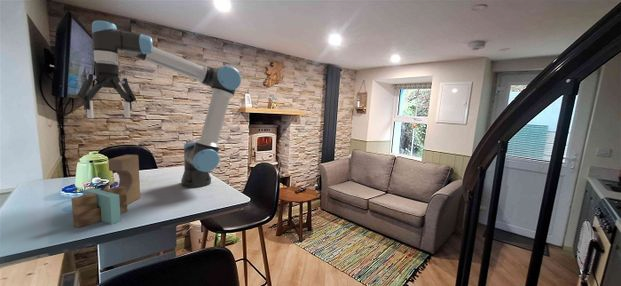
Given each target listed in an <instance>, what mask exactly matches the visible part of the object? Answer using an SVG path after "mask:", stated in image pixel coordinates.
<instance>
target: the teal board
mask: <svg viewBox="0 0 621 286" xmlns="http://www.w3.org/2000/svg"><path fill="white" fill-rule="evenodd" d="M91 193H92V194H95V195H96V197H97V206H100V207H101V222H105V223H106V224H110V225H113V224H116V223H119V222H121V214H120V201H119V195H118V194H114V193H110V192H106V191H105V190H102V189H98V188H95V187H90V188H86V189H82V196H83V195H87V194H91Z"/></svg>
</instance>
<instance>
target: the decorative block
mask: <svg viewBox="0 0 621 286" xmlns="http://www.w3.org/2000/svg"><path fill="white" fill-rule="evenodd" d="M107 162H108V163H107V164H108V171H110V172H115V173H117V176H118V179H119V181H118V182H119V183H118V186H117V187H119V186H123V187H126V196H127V206H128V205H129V204H131V203H133V202H135V201H137V200H139V199H141V185H140V164H139V163H140V161H139V154H124V155H120V156H116V157H113V158H109V159H108V160H107Z"/></svg>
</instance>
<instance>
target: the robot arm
mask: <svg viewBox="0 0 621 286" xmlns="http://www.w3.org/2000/svg"><path fill="white" fill-rule="evenodd" d="M91 35H92V36H91V37H92V49H93V59H94V62H95V63H94V65H93V66H94V72H95V75H94V74H92V73H86V74H85V79H84V81H83V84H82V85H81V87H80V89H79V90H78V93H77V95H76V99H79V100H81V101H83V109H84V110H86V118H87V119H95V114H94V102H93V100H92V98H94V96H95V95H96V94H97V93H99V91H100V90H101V89H103V88H108V89H114V90H115V91H116V92H117V93H118V94H119V95H120V97H121V98H122V99H123V100H124V101H123V111H124V112H123V114H124V115H123V116H124V118H128V119H129V118H131V110H132V105H133V104H132V103H134V102H135V101H137V98H136V97H135V95H134V92H133V91H132V89H131V87H130V84H129V83H128V78H127V77H121V78H120V76H119V75H120V68H119V51H122V52H123V53H124V54H125V55H126V56H127V57H130V58H133V59H134V58H135V59H139V60H142V61H145V62H146V63H147V62H148V63H150V64H153V65H155V66H158V67H161V68H164V69H166V70H170V71H172V72H175V73H178V74H180V75H183V76H185V77H188V78H191V79H195V80H197V81H198V82H199V83H200V84H202V85H205V86H207V87H210V90H211V92H212V94H211V97H210V102H209V105H208V108H207V113H206V117H205V119H204V124H203V126H202V131H201V134H200V137H199V139H197V140H196V141H195V142H186V143H184V145H183V154H184V155H183V159H184V161H183V163H184V169H183V170H184V172H183V174H182V178H181V180H180V182H181V183H180V185H181V186H182V187H185V188H201V187H206V186H208V185H210V184H212V177H211V175H210V172H211V171H213V170H215V169H216V168H217V167H218V165H219V164H220V154H219V152H220V145H219V139H220V136H221V132H222V128H223V125H224V121H225V119H226V114H227V111H228V107H229V104H230V103H229V102H230V99H231V98H233V97H234V96H235V93H236V90H237V89H239V87H240V85H241V83H242V76H241V73H240V72H239V70H238V69H236V68H235V67H234V66H231V65H223V66H220V67H211V66H208V65H206V64H205V65H203V66H202V65H200V64H198V63H195V62H192V61H190V60H188V59H185V58H182V57H180V56H178V55H175V54H173V53H170V52H168V51H165V50H162V49H160V48H158V47H155V46H154V45H153V43H154V42H153V38H152V37H151V36H150V35H146V34H143V33H136V32H129V31H124V30H120V29H118V28H117V25H116V24H114V23H112V22H109V21H105V20H94V21H92V23H91ZM94 80H95V81H96V82H95V84H94V85H93V87H92V88H91V86H92V84H93V81H94ZM90 88H91V89H90Z"/></svg>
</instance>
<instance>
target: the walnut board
mask: <svg viewBox="0 0 621 286" xmlns="http://www.w3.org/2000/svg"><path fill="white" fill-rule="evenodd" d="M118 186H119V185H118ZM118 186H115V187H112V188H108V189H105V190H104V191H106V192H110V193H114V194H118V195H119V201H120V215H121V214H124V213H127V212H128V205H127V196H126V187H123V186H119V187H118ZM71 210H72V220H73V221H72V222H73V227H75V228H78V229H79V228H82V227H85V226H88V225H89V226H90V225H91V224H95V223H99V222H100V221H101V222H102V220H101V207H100V206H97V197H96V195H95V194H92V193H91V194H87V195H83V194H82V195H78V196H75V197H71Z"/></svg>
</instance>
